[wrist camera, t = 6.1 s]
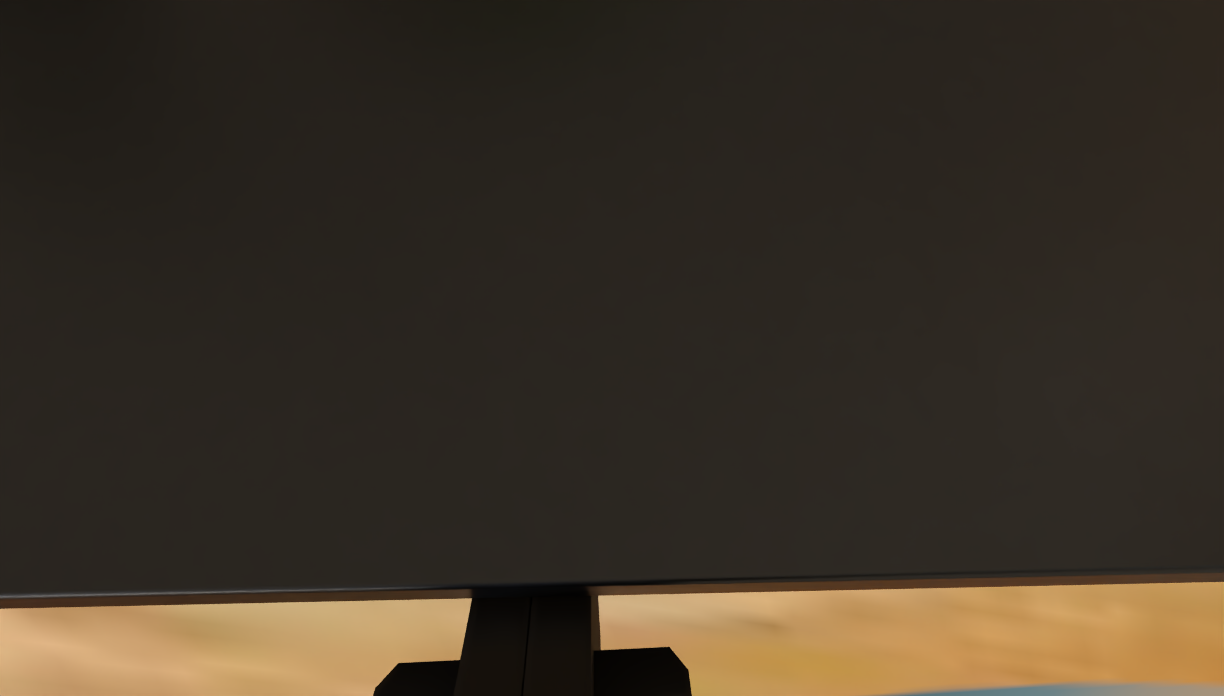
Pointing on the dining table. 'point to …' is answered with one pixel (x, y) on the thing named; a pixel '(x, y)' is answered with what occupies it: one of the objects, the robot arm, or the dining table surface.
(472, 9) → the laptop screen
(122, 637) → the dining table surface
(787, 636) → the dining table surface
